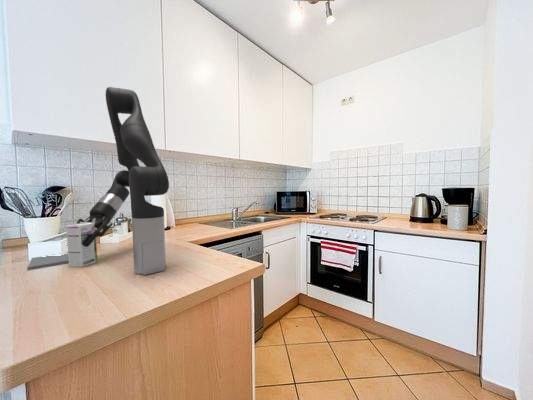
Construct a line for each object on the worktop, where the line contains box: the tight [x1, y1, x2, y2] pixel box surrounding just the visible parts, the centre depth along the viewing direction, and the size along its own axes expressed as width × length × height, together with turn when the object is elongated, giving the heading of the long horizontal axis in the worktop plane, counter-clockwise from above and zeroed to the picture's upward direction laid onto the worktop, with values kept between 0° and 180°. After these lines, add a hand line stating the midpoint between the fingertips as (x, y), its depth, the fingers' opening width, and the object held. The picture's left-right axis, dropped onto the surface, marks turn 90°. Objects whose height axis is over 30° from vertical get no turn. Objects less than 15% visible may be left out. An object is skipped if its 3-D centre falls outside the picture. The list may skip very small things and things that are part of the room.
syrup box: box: [65, 222, 98, 268], centre depth 80 cm, size 6×6×14 cm
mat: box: [27, 252, 69, 271], centre depth 84 cm, size 14×12×1 cm
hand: (77, 245), depth 78 cm, fingers closed on syrup box, 6 cm apart
